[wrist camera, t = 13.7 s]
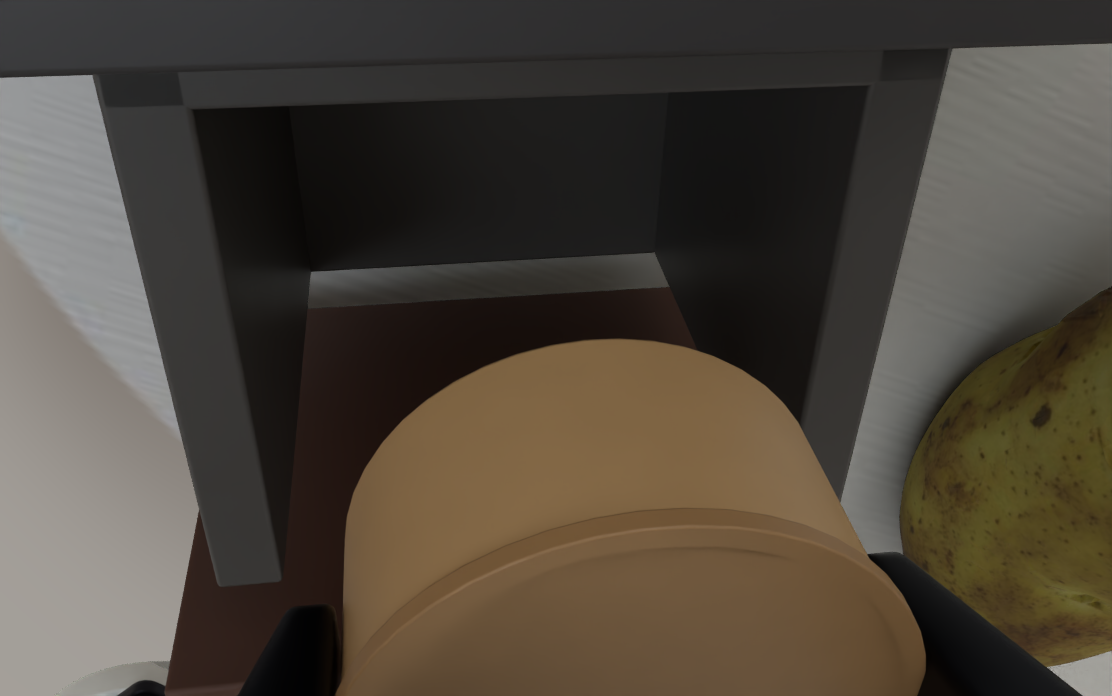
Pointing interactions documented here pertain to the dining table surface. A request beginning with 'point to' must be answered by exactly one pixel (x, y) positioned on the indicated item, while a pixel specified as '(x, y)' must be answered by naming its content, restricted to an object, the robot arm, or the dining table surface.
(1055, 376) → the potato
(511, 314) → the drawer
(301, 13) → the dark grey cube
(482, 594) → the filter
